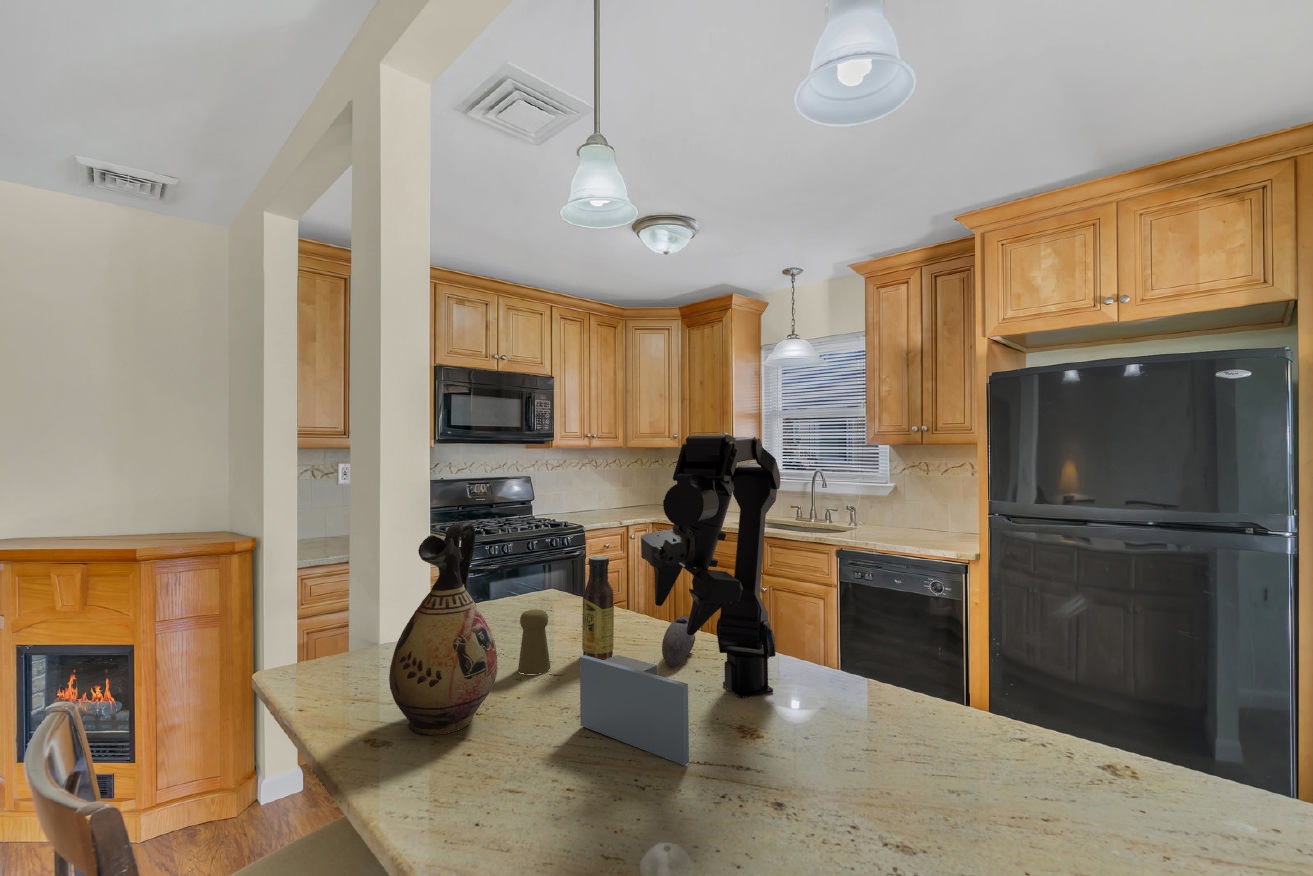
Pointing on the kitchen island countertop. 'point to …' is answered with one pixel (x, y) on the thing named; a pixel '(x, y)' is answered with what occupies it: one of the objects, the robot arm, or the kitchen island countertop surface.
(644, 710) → the side door
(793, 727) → the kitchen island countertop surface
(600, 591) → the sauce bottle
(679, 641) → the perforated stone tool
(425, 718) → the ceramic jug
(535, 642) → the cork
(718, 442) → the robot arm
